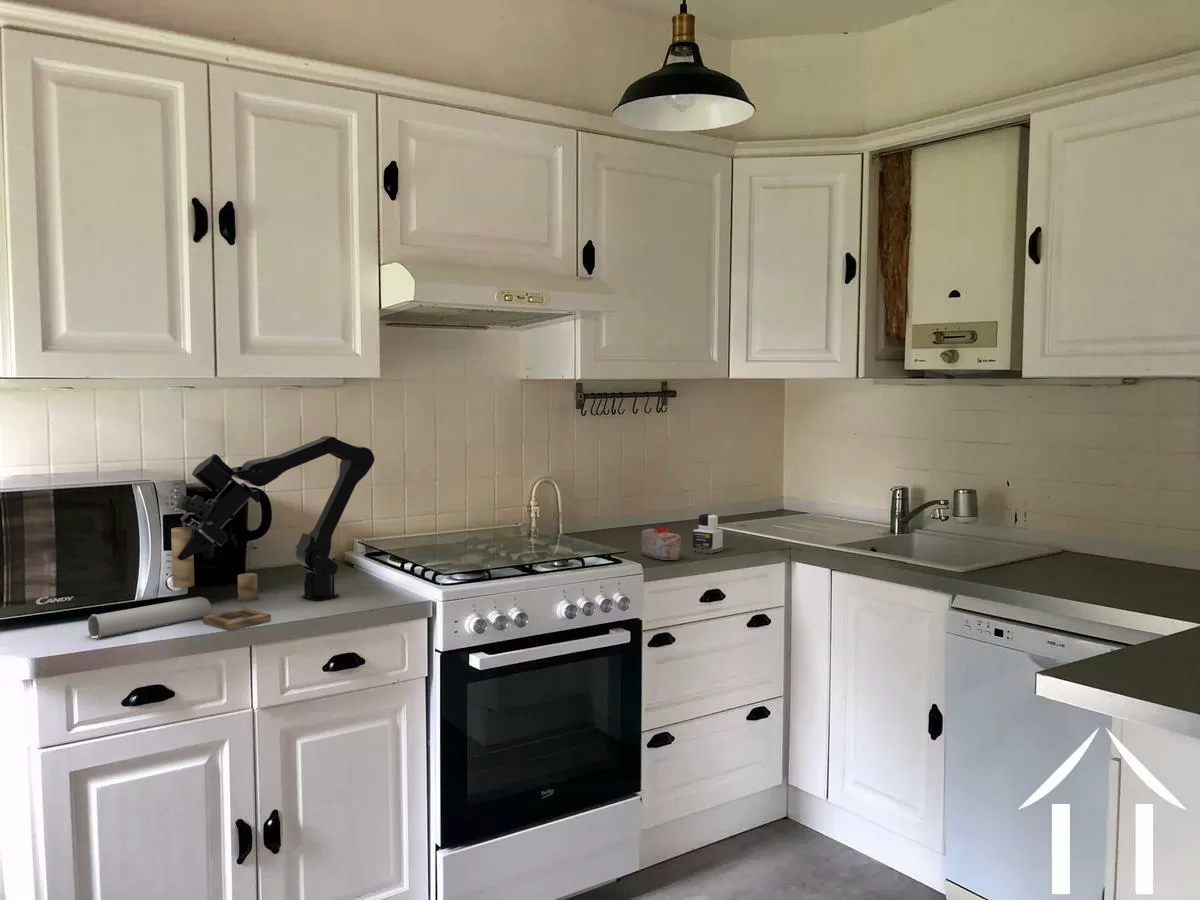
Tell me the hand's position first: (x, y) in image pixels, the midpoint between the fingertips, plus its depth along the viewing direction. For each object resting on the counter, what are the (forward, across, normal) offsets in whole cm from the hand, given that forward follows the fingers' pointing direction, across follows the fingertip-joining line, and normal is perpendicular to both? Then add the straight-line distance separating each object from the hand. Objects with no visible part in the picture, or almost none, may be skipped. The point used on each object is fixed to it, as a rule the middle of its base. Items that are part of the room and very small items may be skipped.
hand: (176, 557), depth 205 cm
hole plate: (+3, +12, +16) cm, 21 cm away
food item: (-86, +9, +107) cm, 137 cm away
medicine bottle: (-100, +9, +121) cm, 157 cm away
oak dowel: (+4, 0, +6) cm, 7 cm away
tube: (+14, +5, +6) cm, 16 cm away
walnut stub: (-3, -8, +22) cm, 24 cm away
